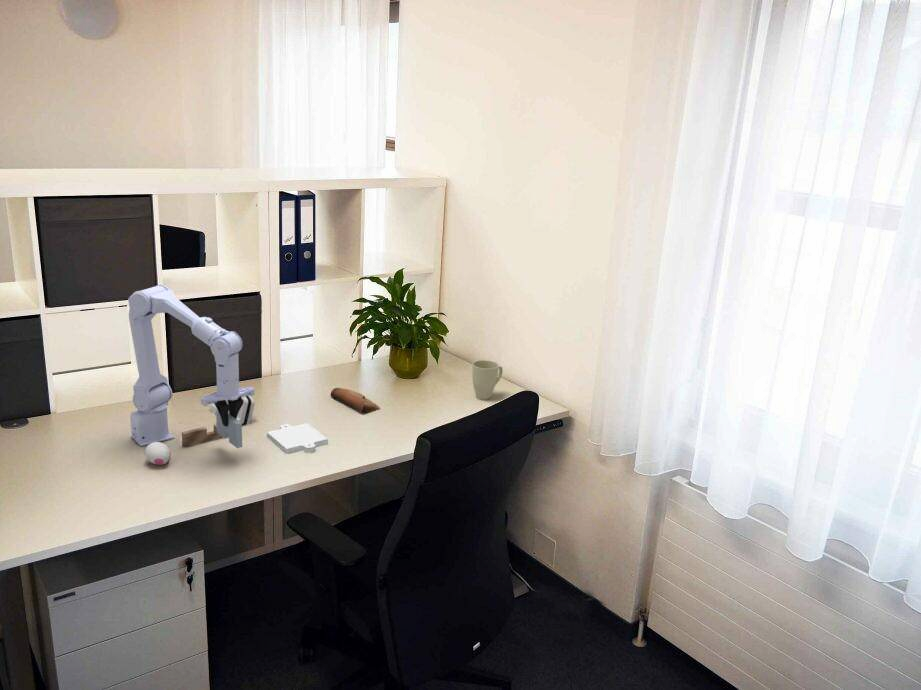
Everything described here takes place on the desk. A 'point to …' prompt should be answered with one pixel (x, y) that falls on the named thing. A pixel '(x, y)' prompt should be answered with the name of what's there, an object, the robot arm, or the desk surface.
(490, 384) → the mug
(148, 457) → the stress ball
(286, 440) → the mounting plate
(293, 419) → the desk surface
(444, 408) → the desk surface
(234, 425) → the upright grey panel
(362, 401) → the sunglasses case
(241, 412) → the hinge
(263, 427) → the desk surface
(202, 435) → the walnut plate
